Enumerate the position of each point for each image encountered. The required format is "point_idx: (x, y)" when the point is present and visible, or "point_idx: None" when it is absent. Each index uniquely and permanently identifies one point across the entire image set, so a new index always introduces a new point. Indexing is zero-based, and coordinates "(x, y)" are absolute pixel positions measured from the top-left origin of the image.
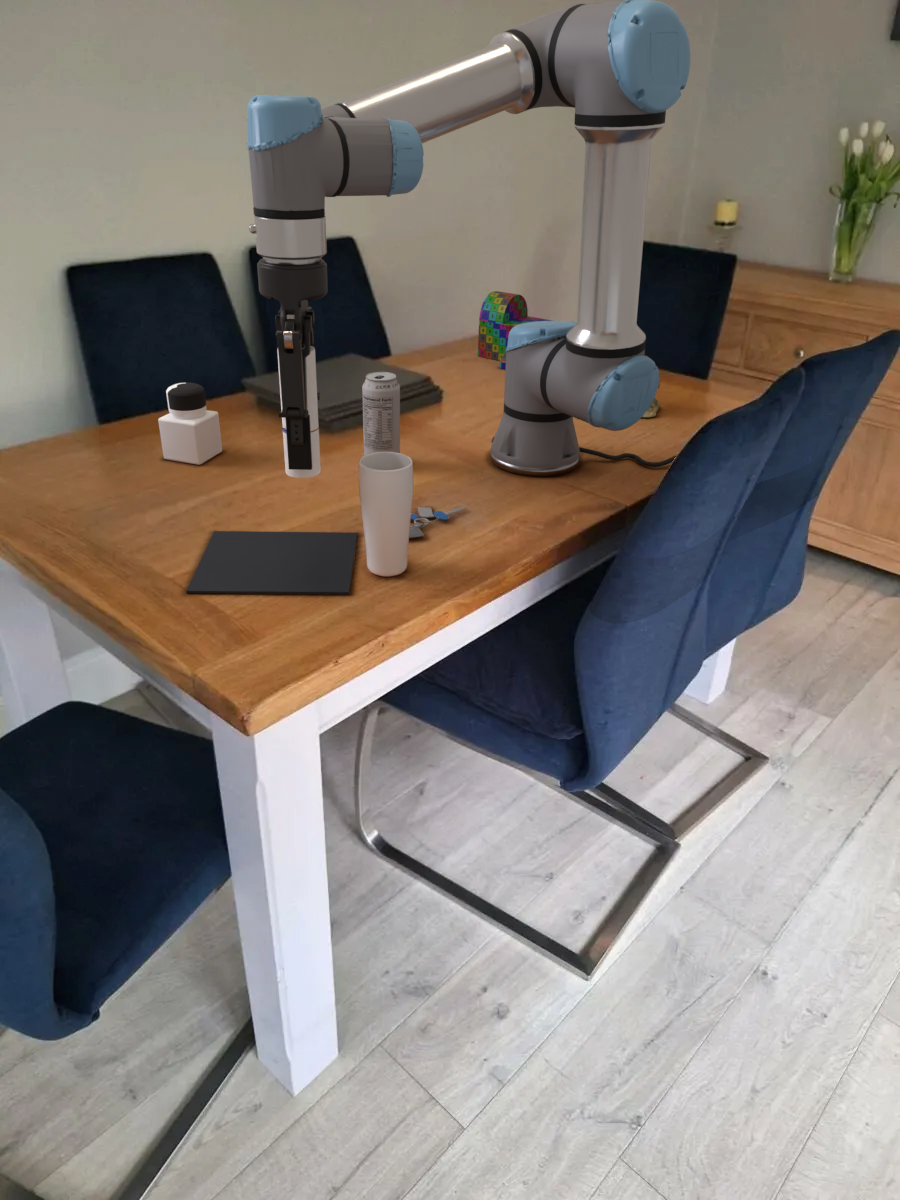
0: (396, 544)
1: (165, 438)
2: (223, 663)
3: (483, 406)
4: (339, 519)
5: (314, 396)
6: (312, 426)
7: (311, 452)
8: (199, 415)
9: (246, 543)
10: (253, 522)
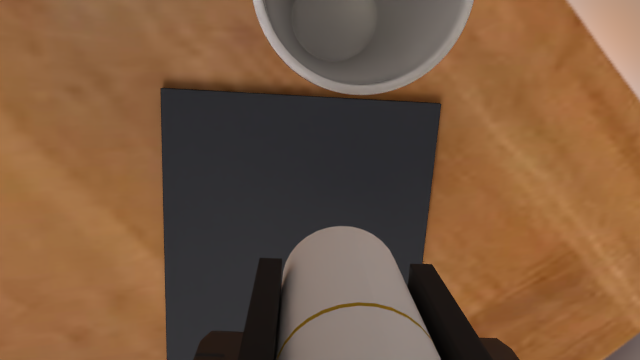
0: None
1: None
2: (629, 294)
3: None
4: (77, 131)
5: None
6: (426, 340)
7: (422, 289)
8: None
9: (222, 314)
10: (109, 312)
